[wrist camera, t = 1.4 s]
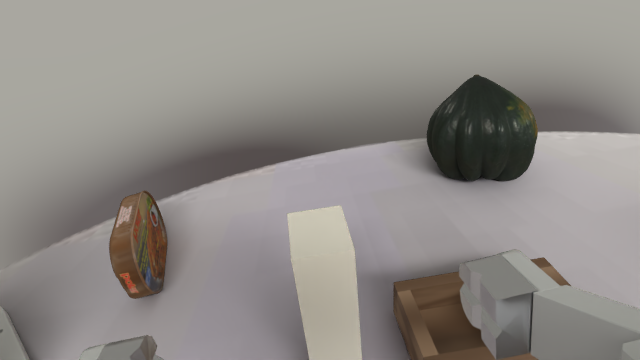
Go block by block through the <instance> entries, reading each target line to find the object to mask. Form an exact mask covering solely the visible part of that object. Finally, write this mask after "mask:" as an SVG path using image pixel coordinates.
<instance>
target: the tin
mask: <svg viewBox="0 0 640 360" xmlns="http://www.w3.org/2000/svg"><path fill="white" fill-rule="evenodd" d="M166 251H167V235H166V229H165V225H164V222H163V219H162V216H161V213H160V210H159V208H158V206H157V204H156V202H155V200H154V198H153V197H152V195H151V194H150V193H149V192H147V191H142V192H141V193H137V194H134V195H130V196H127V197H125V198H124V199H123V200H122V202H121V205H120V208H119V211H118V214H117V217H116V221H115V224H114V227H113V231H112V234H111V237H110V244H109V252H110V259H111V264H112V268H113V271H114V273H115V275H116V277H117V278H118V279H119V281H120V283H121V285H122V286H123V288H124V289H125V291H126V292H127V294H128V295H129V297H131V298H134V299H136V298H141V297H144V296H148V295H151V294H157V293H159V292H160V291H161V290H162V287H163V282H164V271H165V261H166Z"/></svg>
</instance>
